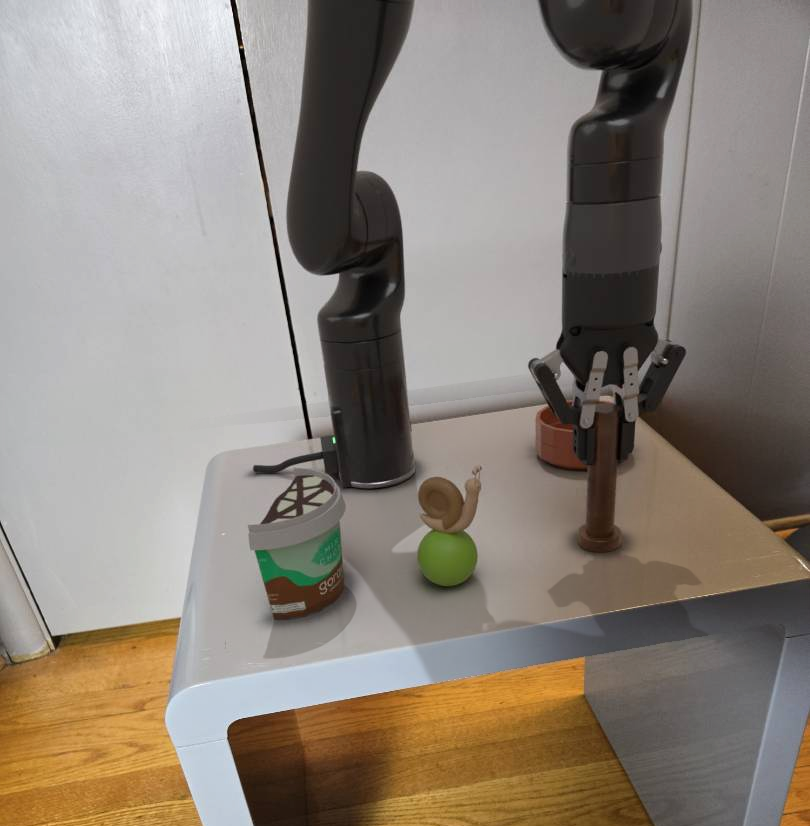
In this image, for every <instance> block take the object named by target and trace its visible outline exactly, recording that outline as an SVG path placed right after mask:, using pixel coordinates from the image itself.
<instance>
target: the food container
mask: <svg viewBox="0 0 810 826" xmlns="http://www.w3.org/2000/svg"><path fill="white" fill-rule="evenodd" d="M293 475H294V479H293V480H292V482H291V483H290V485H289V486H288V487H287V489H285V490H284V491H283V492H282V493H280V494H279V495H278V496H277V497H276V498H275V499H274V501H273V502H272V503H271V506H270V508H269V509H268V511H267V513H266V515H265V516H264V518H263V519H262V520H261V522H260V523H259V524H247V528H248V533H247V534H248V535H247V537H248V542H249V543H248V545H249V550H250V551H254V554H255V557H256V561H257V563H258V568H259V571H260V575H261V578H262V582H263V585H264V589H265V592H266V596H267V599H268V603H269V606H270V610H271V614H272V617H273V620H291V619H297V618H303V617H307V616H309V615H312V614H316V613H319V612H322V611H323V610H324V609H325V608H327V607H330V606H331V605H332V604H334V603H335V602H336V601H337V600H338V599H339V598H340V597H341V596H342V594H343V591H344V588H345V575H344V562H343V549H342V548H343V547H342V536H341V535H342V534H341V520H342V518H343V517H344V515H345V513H346V509H347V508H346V507H347V504H346V502H345V499H344V496H343V493H342V492H341V488H340V487H339V485H338V483H336V481H335V480H334V478H333V477H331V475H329V474H326V473H325V471H324V472H323V471H320V470H317V469H312V468H308V467H307V468H305V467H293Z"/></svg>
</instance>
